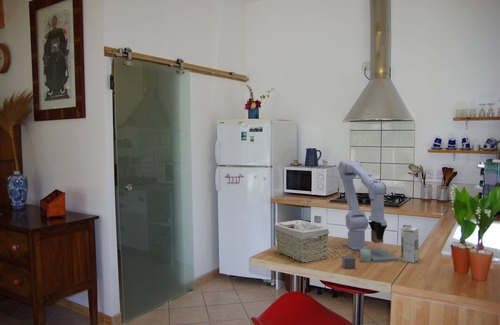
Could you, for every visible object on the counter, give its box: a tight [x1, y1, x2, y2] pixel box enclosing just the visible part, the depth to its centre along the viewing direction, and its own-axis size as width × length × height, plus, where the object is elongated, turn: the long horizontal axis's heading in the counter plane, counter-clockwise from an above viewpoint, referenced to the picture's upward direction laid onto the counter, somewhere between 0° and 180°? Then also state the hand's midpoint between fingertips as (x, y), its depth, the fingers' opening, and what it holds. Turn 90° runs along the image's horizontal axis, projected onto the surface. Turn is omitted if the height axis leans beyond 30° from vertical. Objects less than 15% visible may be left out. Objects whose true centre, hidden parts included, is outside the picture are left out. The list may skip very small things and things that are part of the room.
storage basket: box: [273, 219, 330, 263], centre depth 186 cm, size 24×16×15 cm
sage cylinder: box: [359, 248, 372, 264], centre depth 174 cm, size 4×4×5 cm
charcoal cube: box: [341, 255, 356, 270], centre depth 167 cm, size 4×4×4 cm
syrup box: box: [400, 226, 420, 264], centre depth 173 cm, size 6×6×14 cm
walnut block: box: [370, 230, 384, 244], centre depth 181 cm, size 4×4×5 cm
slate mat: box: [358, 247, 399, 263], centre depth 182 cm, size 18×11×1 cm, turn 6°
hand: (377, 238), depth 181 cm, fingers closed on walnut block, 4 cm apart
